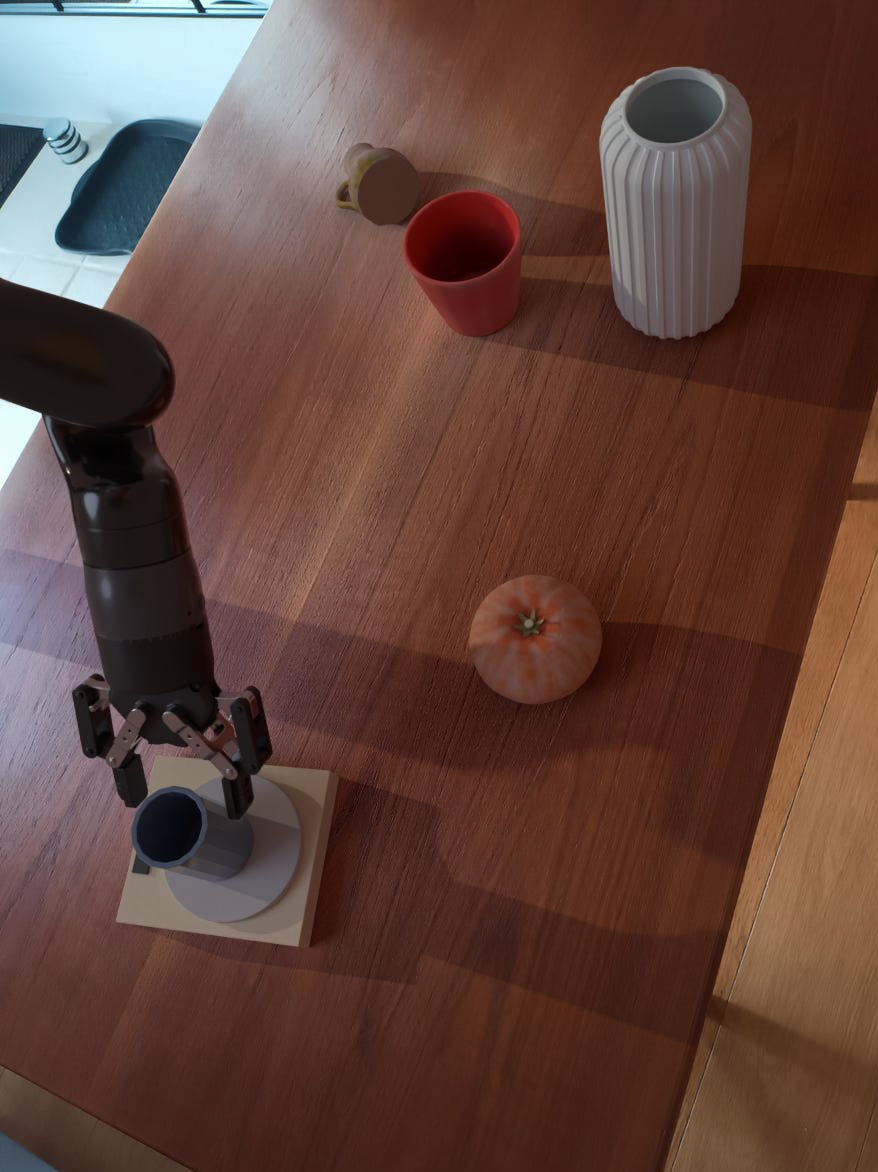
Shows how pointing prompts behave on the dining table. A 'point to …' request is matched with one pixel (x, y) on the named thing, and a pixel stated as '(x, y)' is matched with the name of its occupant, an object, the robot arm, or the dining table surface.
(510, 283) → the flower pot
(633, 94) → the vase
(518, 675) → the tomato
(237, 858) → the ceramic cup
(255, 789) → the scale
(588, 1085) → the dining table surface
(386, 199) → the mug
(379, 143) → the dining table surface
